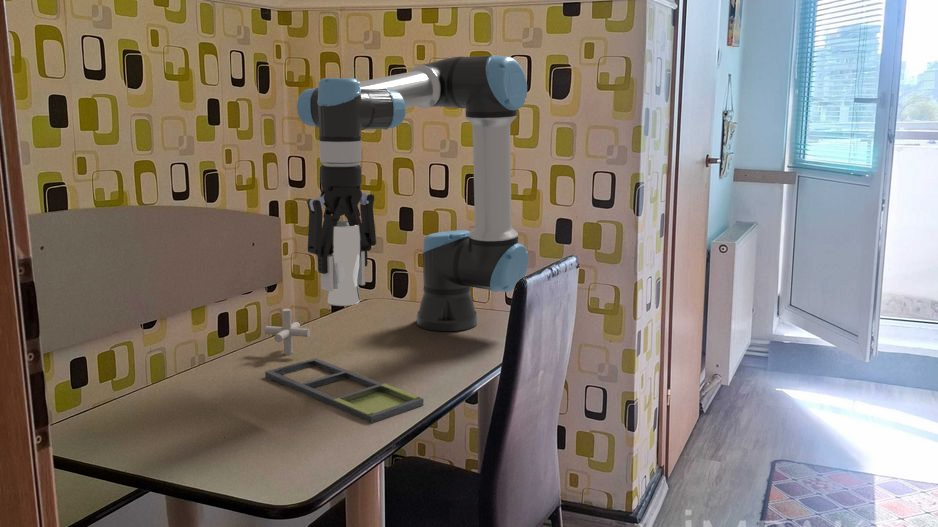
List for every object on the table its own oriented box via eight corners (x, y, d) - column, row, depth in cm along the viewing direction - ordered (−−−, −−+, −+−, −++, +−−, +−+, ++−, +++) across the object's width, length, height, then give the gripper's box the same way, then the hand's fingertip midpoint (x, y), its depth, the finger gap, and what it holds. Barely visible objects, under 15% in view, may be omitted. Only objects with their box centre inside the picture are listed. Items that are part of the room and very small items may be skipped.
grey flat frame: (315, 363, 183) (315, 357, 183) (423, 405, 160) (423, 397, 160) (265, 377, 175) (265, 370, 174) (371, 423, 151) (371, 415, 151)
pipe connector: (300, 362, 184) (299, 317, 182) (257, 358, 186) (255, 314, 184) (318, 348, 194) (316, 305, 192) (276, 345, 196) (274, 302, 194)
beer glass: (340, 296, 167) (338, 219, 164) (369, 300, 164) (368, 222, 161) (317, 303, 161) (315, 224, 158) (347, 308, 158) (346, 227, 155)
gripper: (370, 159, 166) (372, 276, 171) (283, 166, 153) (288, 291, 158) (395, 162, 161) (396, 282, 166) (307, 169, 148) (311, 299, 152)
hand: (343, 286), depth 162 cm, fingers closed on beer glass, 7 cm apart
